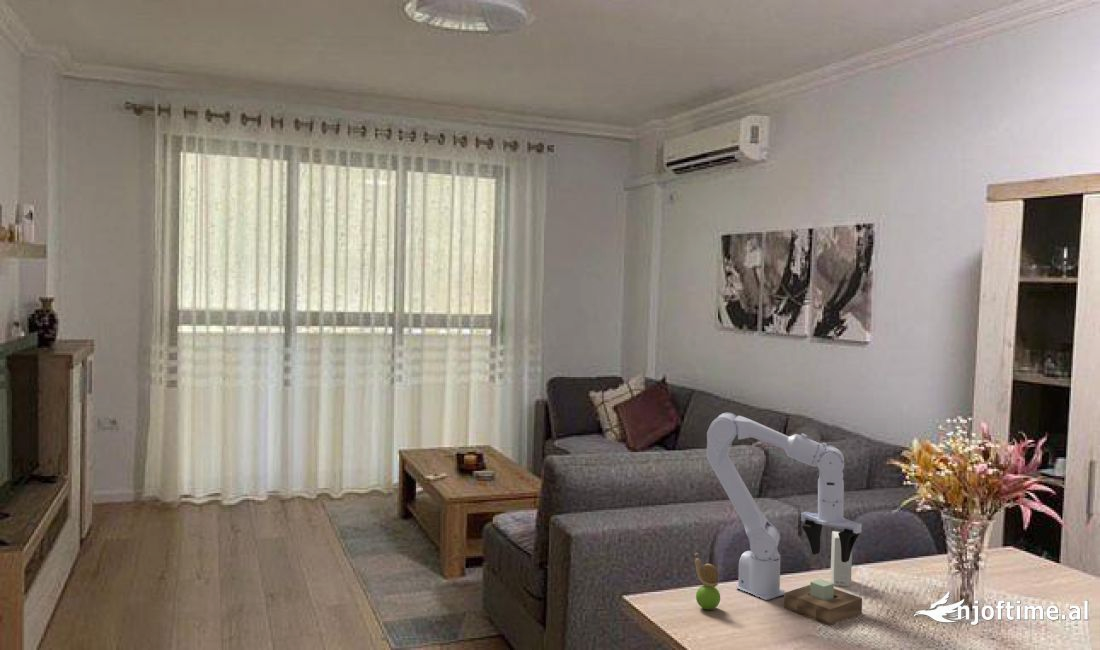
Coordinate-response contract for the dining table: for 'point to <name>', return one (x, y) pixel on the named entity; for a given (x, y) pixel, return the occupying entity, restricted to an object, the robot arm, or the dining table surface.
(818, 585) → the sage peg
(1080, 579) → the dining table surface
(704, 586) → the snail figurine
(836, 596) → the walnut socket block
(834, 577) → the skincare box
